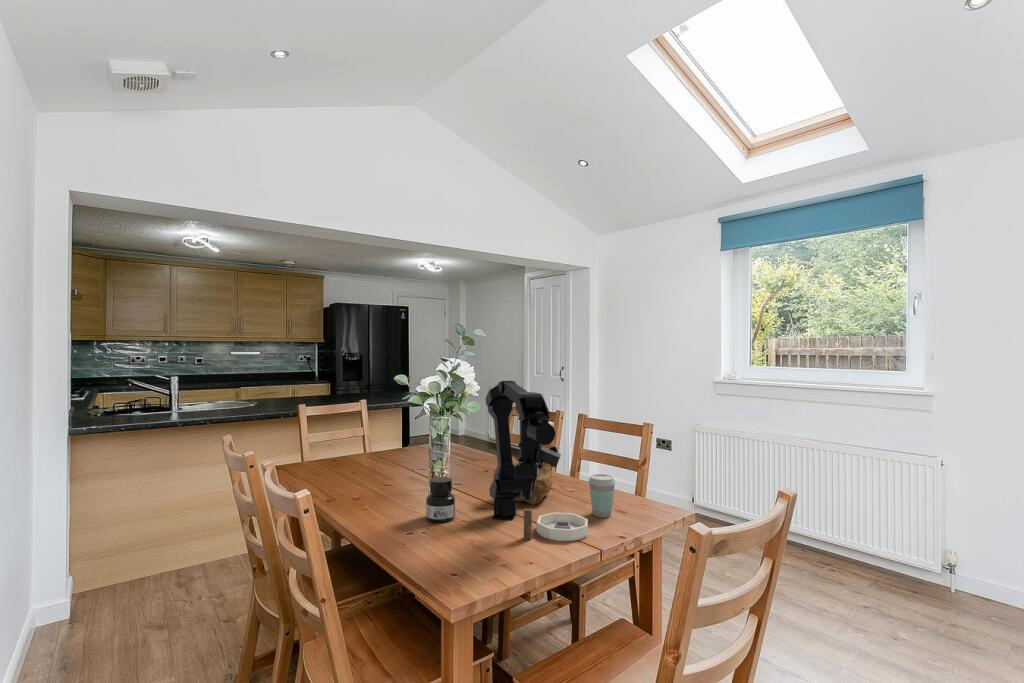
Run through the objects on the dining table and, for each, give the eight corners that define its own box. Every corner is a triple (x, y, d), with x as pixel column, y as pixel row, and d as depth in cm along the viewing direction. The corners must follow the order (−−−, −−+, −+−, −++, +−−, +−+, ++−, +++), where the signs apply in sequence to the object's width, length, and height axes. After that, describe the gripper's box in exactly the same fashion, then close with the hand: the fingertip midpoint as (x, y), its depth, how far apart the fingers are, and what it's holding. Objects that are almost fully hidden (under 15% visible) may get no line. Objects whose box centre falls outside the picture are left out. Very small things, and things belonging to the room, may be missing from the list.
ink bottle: (422, 523, 153) (422, 483, 153) (427, 513, 162) (427, 475, 162) (454, 523, 153) (454, 483, 153) (457, 514, 162) (458, 476, 162)
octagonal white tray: (534, 539, 141) (534, 527, 141) (541, 522, 155) (541, 511, 155) (586, 543, 138) (586, 531, 138) (588, 525, 152) (588, 514, 152)
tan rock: (521, 515, 164) (525, 469, 163) (487, 499, 176) (491, 456, 175) (567, 502, 180) (571, 460, 179) (534, 489, 192) (537, 449, 191)
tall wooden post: (523, 539, 141) (523, 510, 141) (524, 537, 143) (525, 508, 143) (530, 540, 140) (531, 511, 140) (531, 537, 142) (532, 508, 142)
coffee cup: (619, 513, 164) (619, 475, 164) (609, 520, 156) (610, 481, 157) (594, 508, 168) (594, 472, 168) (584, 516, 161) (584, 477, 161)
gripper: (556, 446, 131) (555, 506, 131) (561, 434, 150) (561, 487, 150) (513, 444, 133) (513, 504, 133) (523, 432, 152) (523, 485, 151)
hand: (529, 494), depth 142 cm, fingers open, 9 cm apart
